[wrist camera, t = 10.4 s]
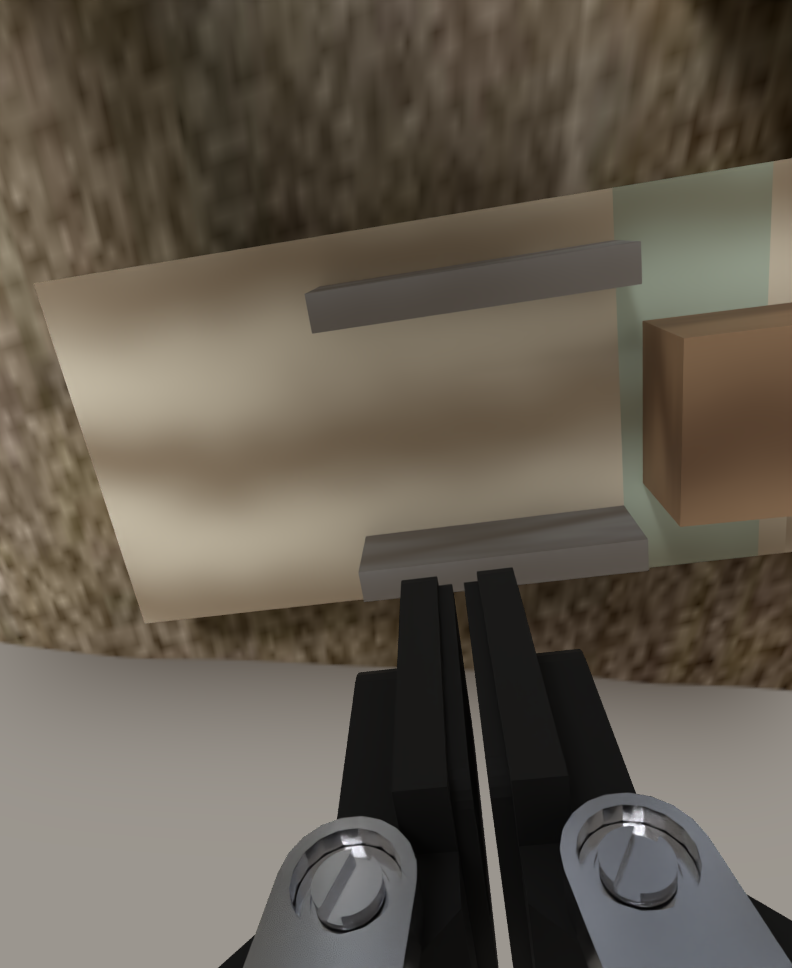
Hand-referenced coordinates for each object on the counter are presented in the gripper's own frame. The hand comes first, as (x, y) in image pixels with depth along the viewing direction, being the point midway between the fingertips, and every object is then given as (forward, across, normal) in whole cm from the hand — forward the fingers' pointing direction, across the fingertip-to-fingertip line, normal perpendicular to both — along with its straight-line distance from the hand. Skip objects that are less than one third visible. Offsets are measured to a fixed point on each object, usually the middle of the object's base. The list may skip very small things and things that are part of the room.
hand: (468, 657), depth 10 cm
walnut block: (+15, -10, +1) cm, 18 cm away
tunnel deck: (+18, -4, +1) cm, 19 cm away
